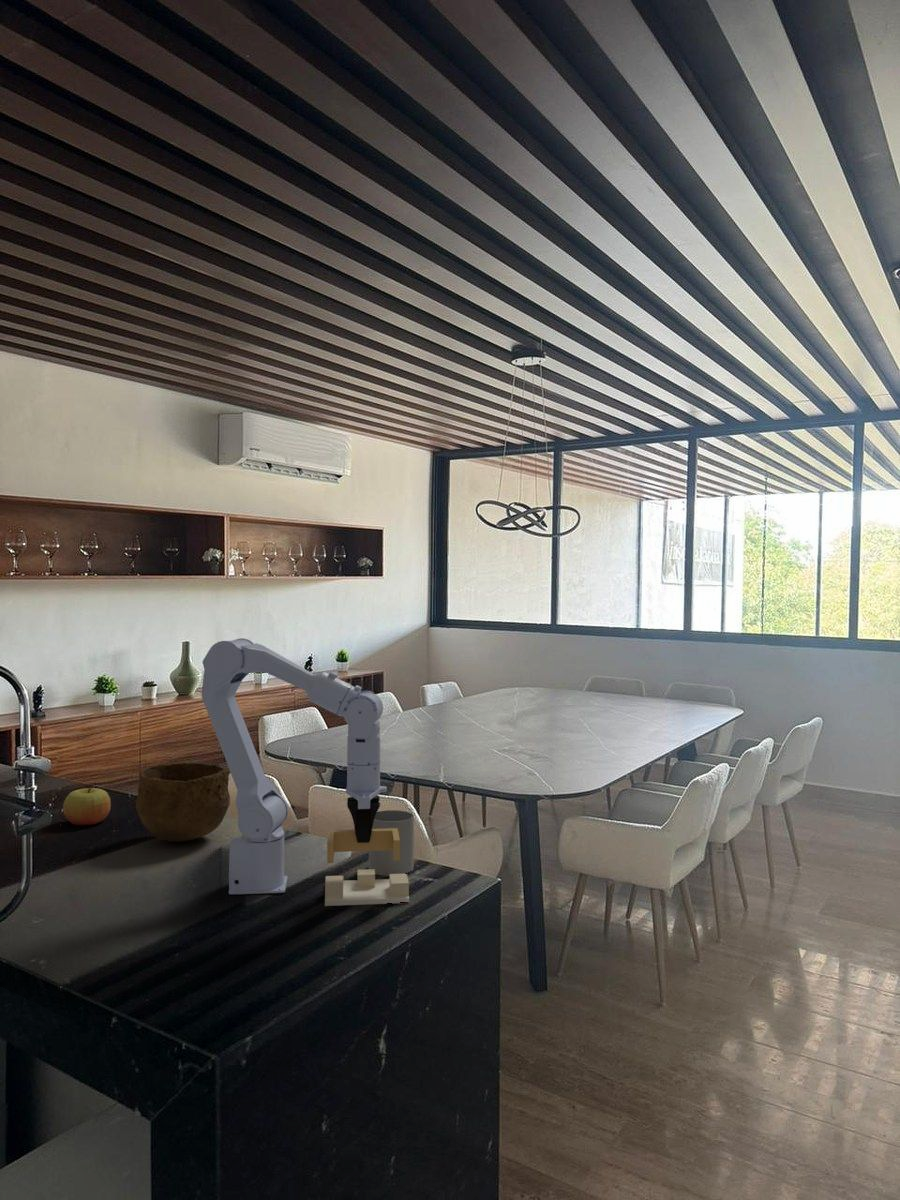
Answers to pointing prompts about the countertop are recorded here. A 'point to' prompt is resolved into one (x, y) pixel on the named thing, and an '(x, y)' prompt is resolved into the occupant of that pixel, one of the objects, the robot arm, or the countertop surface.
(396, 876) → the display stand
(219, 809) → the bowl
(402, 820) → the cup
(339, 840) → the tan u-shaped clamp
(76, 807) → the apple
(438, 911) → the countertop surface
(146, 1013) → the countertop surface
